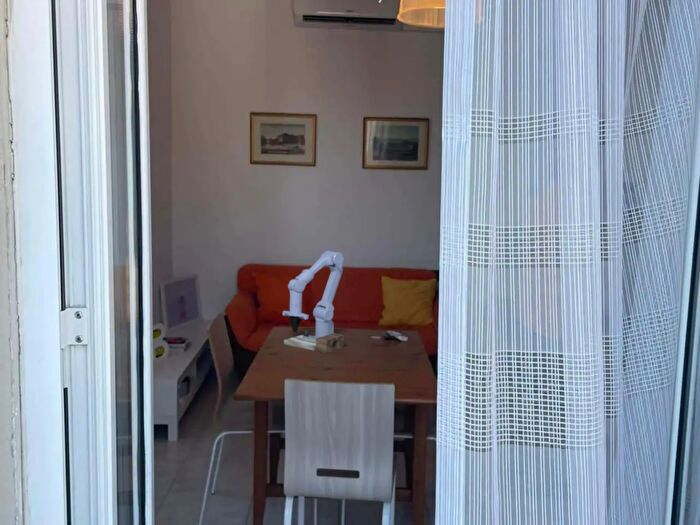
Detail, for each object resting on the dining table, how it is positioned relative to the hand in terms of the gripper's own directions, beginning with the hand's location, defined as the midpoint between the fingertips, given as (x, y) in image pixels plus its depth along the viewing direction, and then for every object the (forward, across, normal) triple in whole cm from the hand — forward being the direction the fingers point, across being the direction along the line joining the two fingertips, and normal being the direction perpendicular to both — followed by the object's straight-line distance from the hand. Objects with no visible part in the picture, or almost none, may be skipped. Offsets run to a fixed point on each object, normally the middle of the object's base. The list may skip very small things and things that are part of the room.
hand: (294, 331), depth 294 cm
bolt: (+3, +11, 0) cm, 11 cm away
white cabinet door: (+5, +11, 0) cm, 12 cm away
